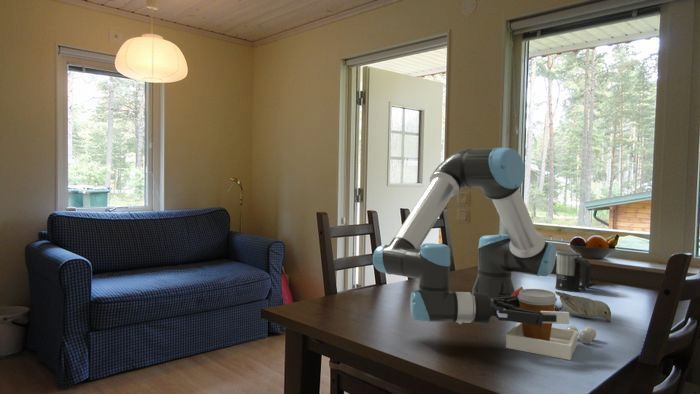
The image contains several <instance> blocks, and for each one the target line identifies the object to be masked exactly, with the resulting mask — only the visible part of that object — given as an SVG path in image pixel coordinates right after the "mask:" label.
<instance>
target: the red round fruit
mask: <svg viewBox="0 0 700 394" xmlns="http://www.w3.org/2000/svg"><path fill="white" fill-rule="evenodd" d="M523 289H524V287H523V286H519V287H518V288H517V289H516V290H515V291H514V292H513V294H512V295H511V296H515V297H516V295H519V291H520V290H523Z"/></svg>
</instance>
